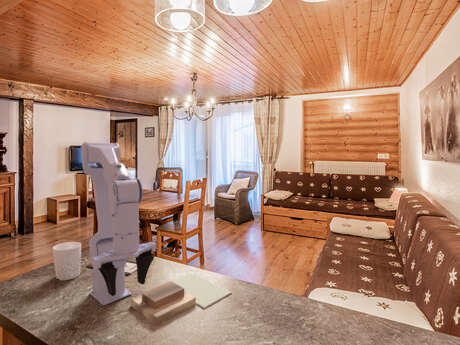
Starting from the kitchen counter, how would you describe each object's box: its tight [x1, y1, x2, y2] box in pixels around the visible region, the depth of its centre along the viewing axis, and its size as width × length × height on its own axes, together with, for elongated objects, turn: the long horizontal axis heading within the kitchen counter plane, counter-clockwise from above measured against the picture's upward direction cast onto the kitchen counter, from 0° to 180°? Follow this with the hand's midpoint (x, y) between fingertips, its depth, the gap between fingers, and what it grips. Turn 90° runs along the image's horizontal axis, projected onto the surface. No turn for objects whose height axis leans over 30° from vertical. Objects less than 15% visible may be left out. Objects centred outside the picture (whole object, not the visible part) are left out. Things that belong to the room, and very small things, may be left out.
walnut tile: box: [141, 280, 184, 309], centre depth 73 cm, size 6×9×2 cm, turn 138°
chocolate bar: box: [85, 260, 137, 277], centre depth 97 cm, size 9×1×18 cm
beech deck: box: [130, 291, 197, 326], centre depth 73 cm, size 12×12×2 cm
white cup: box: [52, 241, 82, 281], centre depth 89 cm, size 8×8×10 cm
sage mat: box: [171, 272, 232, 309], centre depth 81 cm, size 18×11×1 cm, turn 48°
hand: (127, 288), depth 65 cm, fingers open, 7 cm apart
